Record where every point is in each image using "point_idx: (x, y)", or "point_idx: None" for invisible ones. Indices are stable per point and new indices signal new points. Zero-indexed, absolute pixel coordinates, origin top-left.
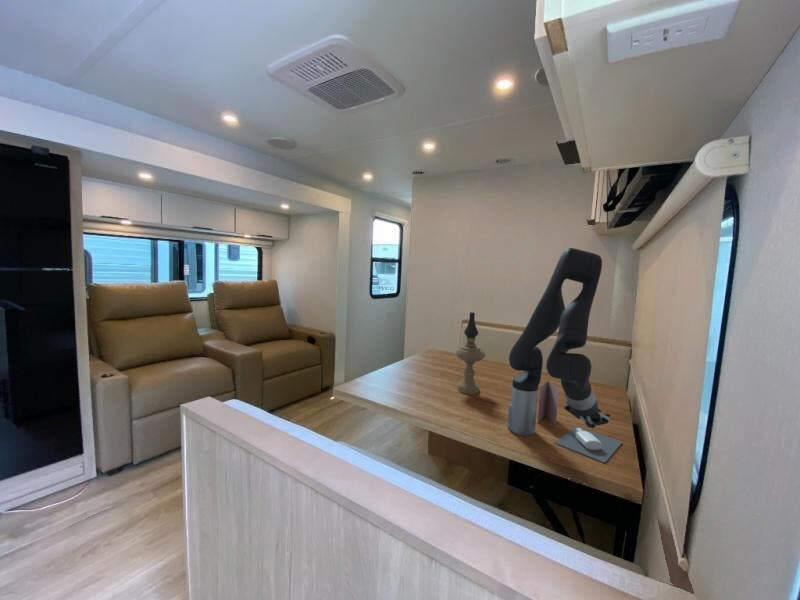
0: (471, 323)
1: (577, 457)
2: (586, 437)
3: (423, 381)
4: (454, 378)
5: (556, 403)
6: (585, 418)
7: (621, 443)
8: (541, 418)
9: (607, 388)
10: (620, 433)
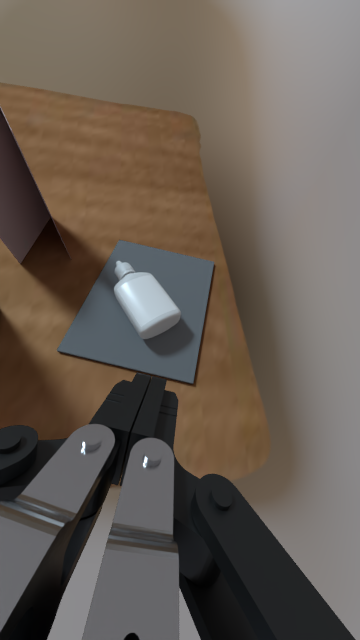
0: None
1: None
2: (141, 308)
3: None
4: None
5: (40, 193)
6: (61, 593)
7: (212, 267)
8: (35, 239)
9: (170, 116)
10: (205, 230)
